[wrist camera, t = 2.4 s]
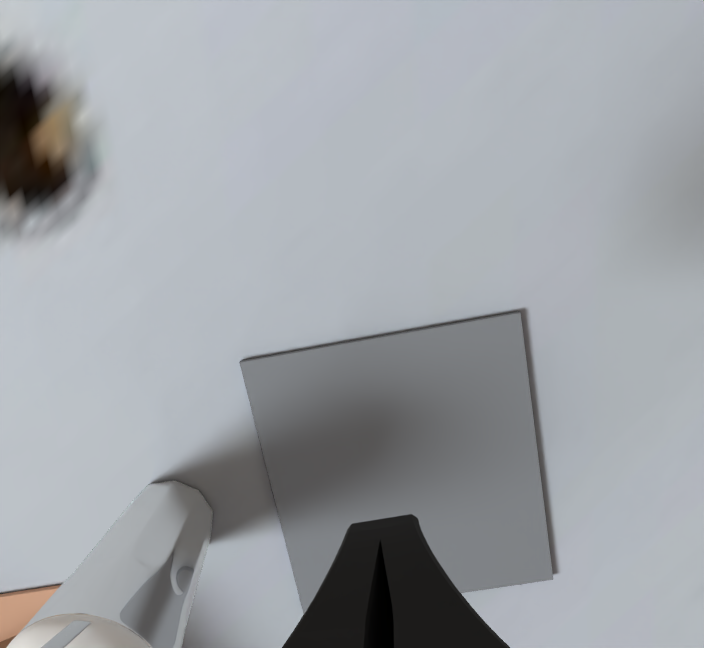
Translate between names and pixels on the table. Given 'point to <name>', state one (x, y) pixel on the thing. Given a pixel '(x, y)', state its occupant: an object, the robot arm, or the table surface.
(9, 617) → the tile terracotta
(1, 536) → the table surface
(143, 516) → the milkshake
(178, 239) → the table surface
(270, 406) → the tile slate
